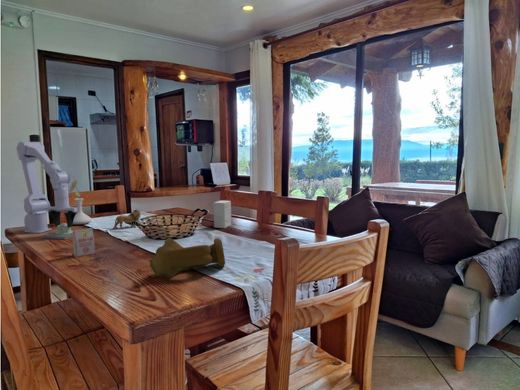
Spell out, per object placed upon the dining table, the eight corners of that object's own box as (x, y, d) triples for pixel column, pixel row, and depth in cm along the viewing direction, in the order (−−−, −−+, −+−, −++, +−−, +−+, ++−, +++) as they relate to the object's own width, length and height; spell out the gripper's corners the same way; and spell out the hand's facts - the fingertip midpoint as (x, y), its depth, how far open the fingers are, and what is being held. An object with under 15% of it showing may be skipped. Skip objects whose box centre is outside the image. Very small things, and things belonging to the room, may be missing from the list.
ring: (54, 233, 168) (54, 226, 167) (63, 230, 173) (63, 224, 173) (65, 233, 167) (64, 227, 166) (73, 231, 172) (73, 224, 172)
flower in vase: (71, 222, 200) (67, 177, 197) (93, 221, 204) (90, 177, 200) (66, 227, 188) (62, 179, 185) (90, 225, 191) (86, 178, 188)
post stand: (42, 238, 165) (41, 226, 164) (64, 231, 178) (63, 220, 177) (65, 239, 162) (64, 227, 162) (85, 232, 175) (84, 221, 174)
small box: (220, 224, 193) (220, 200, 191) (231, 225, 191) (231, 200, 189) (213, 227, 185) (213, 202, 184) (224, 228, 183) (224, 202, 181)
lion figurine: (139, 224, 193) (138, 208, 191) (143, 226, 189) (142, 209, 187) (111, 229, 183) (109, 211, 182) (114, 230, 179) (113, 213, 178)
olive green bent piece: (158, 242, 128) (219, 230, 130) (164, 278, 126) (226, 265, 128) (145, 238, 110) (217, 225, 112) (152, 281, 108) (224, 266, 110)
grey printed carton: (73, 255, 138) (71, 229, 137) (92, 251, 142) (90, 227, 141) (76, 257, 135) (74, 231, 134) (95, 253, 140) (93, 228, 138)
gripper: (81, 197, 170) (83, 225, 172) (55, 196, 173) (57, 224, 175) (70, 199, 163) (72, 228, 165) (43, 198, 166) (45, 227, 168)
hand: (63, 226), depth 169 cm, fingers open, 6 cm apart
